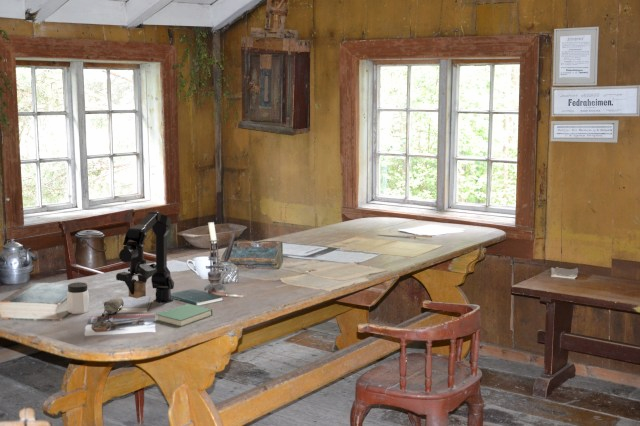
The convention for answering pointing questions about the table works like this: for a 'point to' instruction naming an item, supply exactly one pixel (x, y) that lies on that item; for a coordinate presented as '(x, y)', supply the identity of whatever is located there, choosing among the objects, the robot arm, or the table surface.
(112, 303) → the decorative bird
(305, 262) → the table surface
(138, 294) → the walnut block
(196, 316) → the green book
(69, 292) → the jar
